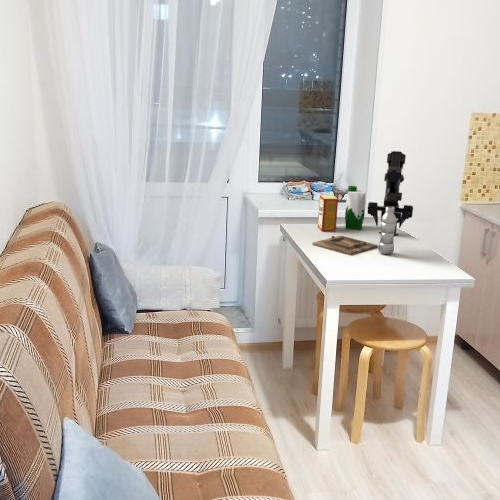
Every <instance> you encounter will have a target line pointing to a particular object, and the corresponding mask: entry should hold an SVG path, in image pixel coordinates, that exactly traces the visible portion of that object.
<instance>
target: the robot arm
mask: <svg viewBox="0 0 500 500" xmlns="http://www.w3.org/2000/svg"><path fill="white" fill-rule="evenodd" d="M386 163H387V171H386V173H384V182H385V193H384V199H383V205H378V202H375V201H374V202H373V201H370V202H368V204H367V215H370V216H372V218H373V220H374V223H375V225H376V227H378V224H379V221H378V220H379V218H378V217H379V216H378V215H379V213H378V212H381V213H380V219H381V218H382V216H383V215H384V214H385V213H386V211H385V210H386V206H393V207H395V209H394V210H395V212H394V214H395V216H396V218H397V222H396V226H395V231H394V236H398V235H399V233H397V226H398V228H399V229H401V227H402V225H403V223H404V222H405V221H406V220H409V219H410V218H412V217H413V214H414V213H413V211H414V207H413V205H408V204H403V207H400V205H399V202H402V199H403V192H400V186H401V183H403V182H404V181H405V177H404V174H403V173H402V172H403V169H404V165H406V154H405V153H403V152H402V151H398V150H397V151H396V150H392V151H391V152H389V153H387V156H386ZM381 229H382V227H381V226H380V231H379V233H378V234H380V235H381V232H382V231H381Z"/></svg>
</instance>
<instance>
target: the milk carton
mask: <svg viewBox="0 0 500 500" xmlns="http://www.w3.org/2000/svg"><path fill="white" fill-rule="evenodd" d="M347 188H348V189H347V195H346V202H345V212H344V216H345V217H344V219H345V222H344V223H345V229H346V230H353V231H354V230H355V231H361V230H362V227H363V223H364V220H365V214H366V213H365V212H366V201H367V200H366V190H361V189H358V187H357V186H356V185H349V186H348V187H347Z"/></svg>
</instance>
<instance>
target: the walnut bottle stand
mask: <svg viewBox="0 0 500 500" xmlns="http://www.w3.org/2000/svg"><path fill="white" fill-rule="evenodd" d="M312 246H314V247H315V246H316V247H319V248H323V249H327V250H329V251H333V252H334V251H335V252H337V253H340V254H343V255H348V256H353V255H356V254H359V253H362V252H363V253H364V252H367V251H369V250H373V249H376V248H378V246H379V244H375V243H372V242H368V241H365V240H364V241H363V240H361V239H356V238H352V237H348V236H344V235H338V236H337V235H336V236H335V235H331V237H330V238H326V239H322V240H318V241H314V242H312Z"/></svg>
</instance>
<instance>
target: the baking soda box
mask: <svg viewBox="0 0 500 500" xmlns="http://www.w3.org/2000/svg"><path fill="white" fill-rule="evenodd" d="M318 202H319V203H318V217H317V227H318V229H319V230H320V231H321V232H323V233H325V232H326V233H328V232H329V233H336V232H337V220H338V207H339V206H338V204H339V198H337V196H335V195H334V194H319V200H318Z"/></svg>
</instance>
